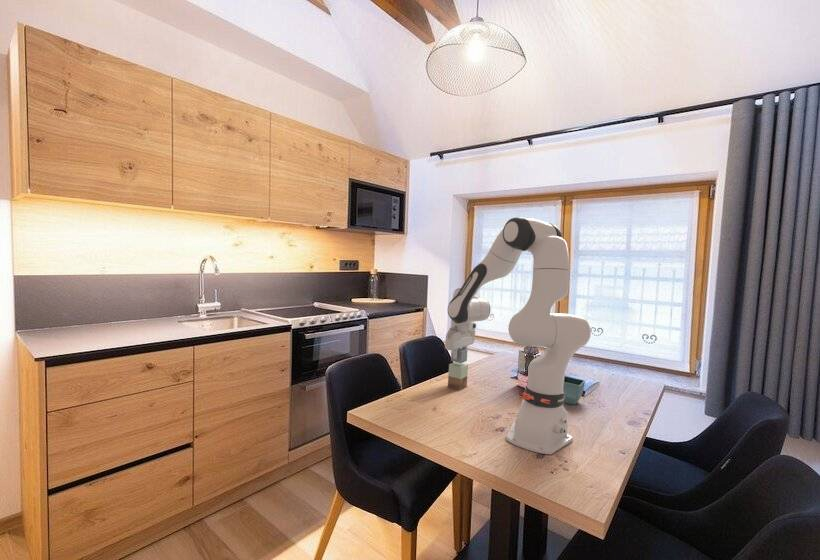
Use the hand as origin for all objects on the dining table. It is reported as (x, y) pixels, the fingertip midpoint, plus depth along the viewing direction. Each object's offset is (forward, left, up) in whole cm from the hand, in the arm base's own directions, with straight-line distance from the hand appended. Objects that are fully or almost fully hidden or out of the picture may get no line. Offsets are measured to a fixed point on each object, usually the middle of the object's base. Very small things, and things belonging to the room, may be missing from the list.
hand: (459, 357), depth 163 cm
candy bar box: (+21, -24, -13) cm, 34 cm away
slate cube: (0, 0, -2) cm, 2 cm away
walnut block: (0, 0, -13) cm, 13 cm away
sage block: (0, 0, -8) cm, 8 cm away
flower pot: (+17, -42, -13) cm, 47 cm away
